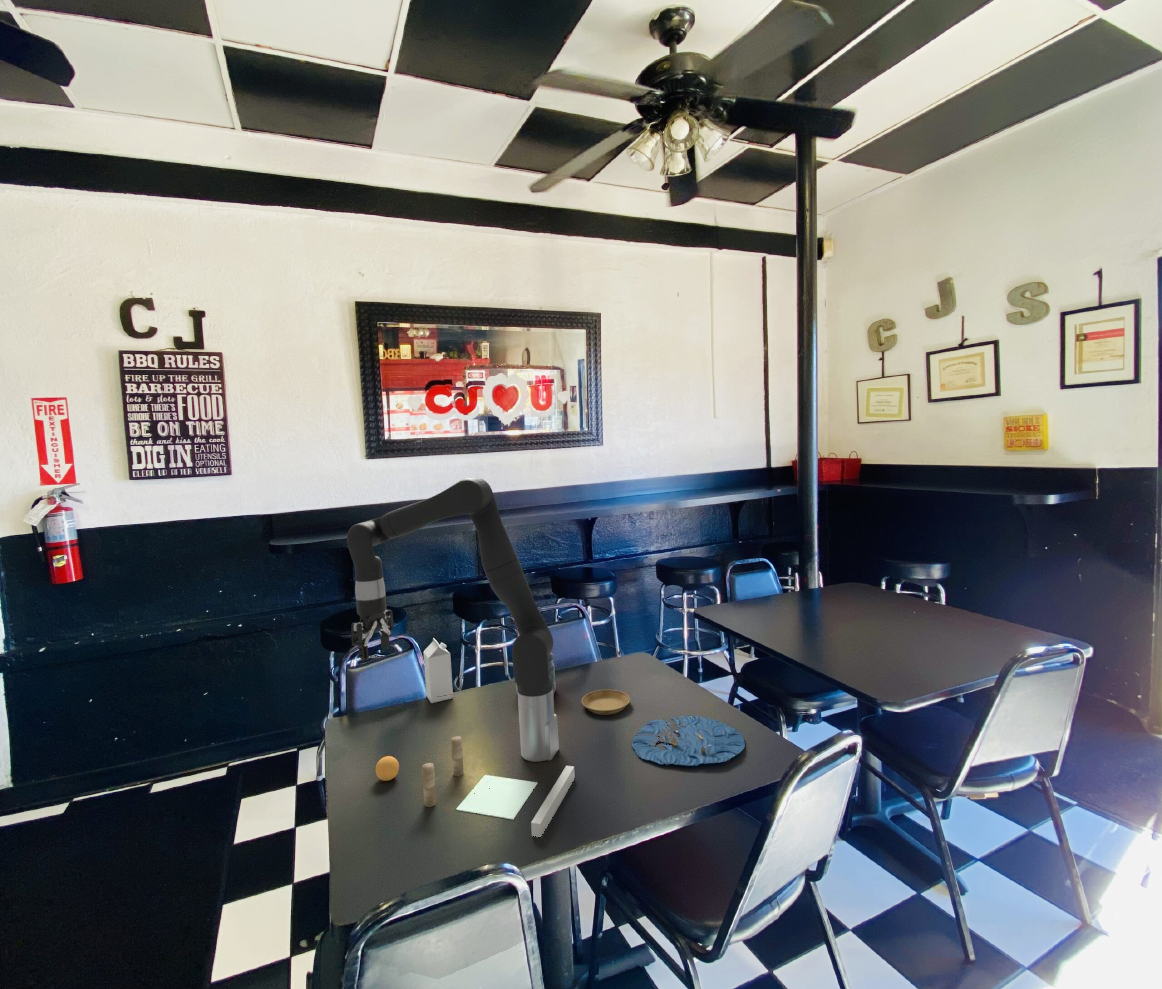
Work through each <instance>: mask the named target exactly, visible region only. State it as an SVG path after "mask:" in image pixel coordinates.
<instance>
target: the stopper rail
mask: <svg viewBox="0 0 1162 989" xmlns="http://www.w3.org/2000/svg"><path fill="white" fill-rule="evenodd" d="M575 777H576V776H575V766H572V765H565V767H564V769H563V771H562V772H561V774H560V775H559V777H558V778H557V780H556V782H555V784H554V785H553V786H552V788H551V790H550V791H549V792H548V795H547V796H546V798H545V799H544V801H543V802H542V804H541V806H540V808H539V809H538V811H537V812H536V813H535V816H534V817H533V819H532V820H531V821H530V826H531V827H530V828H531V837H533V836H534V838H538V837H541V836H542V837H543V835H542V834H544V833H545V832H544V831H546V830H545V829H547V828H548V826H549V825H548V824H550V823H551V821H552V819H553V818H554V815H556V812H557V810H558V809H559V807H560V805H561V803H562V802H563V800H564V798H565V796H566V794H567V793H568V791H569V790H568V789H570V787H572V786H571V785H572V784H573V783H572V782H574V781H575V779H574V778H575ZM552 817H553V818H552ZM535 836H536V837H535ZM542 837H541V838H542Z"/></svg>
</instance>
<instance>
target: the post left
mask: <svg viewBox="0 0 1162 989" xmlns="http://www.w3.org/2000/svg"><path fill="white" fill-rule="evenodd" d="M434 766H435V765H434V763H433V762H427V763H426V762H425V763H424V764H422V766H421V774H422V786H423V800H424V803H423V804H424V807H426V808H431V807H434V806H436V805H437V794H436V777H435V767H434Z"/></svg>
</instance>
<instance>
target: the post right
mask: <svg viewBox="0 0 1162 989" xmlns="http://www.w3.org/2000/svg"><path fill="white" fill-rule="evenodd" d="M462 740H463V739H462V736H460V735H457V736H453V737H451V738H450V747H451V762H452V776H454V777H462V776H463V775H464V772H465V771H464V758H463V757H464V755H463V743H462V742H463V741H462Z"/></svg>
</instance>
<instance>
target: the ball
mask: <svg viewBox="0 0 1162 989" xmlns="http://www.w3.org/2000/svg"><path fill="white" fill-rule="evenodd" d="M399 770H400V763H399V761H398V760H397V758H395V757H393V756H391V755H387V756H384V757H381V758H380V759H379V760H378V762H377V763H376V765H375V774H376V777H377V778H379V780H380V781H383V782H388V781H391V780H392V779H394V778H395V777H396V776H397V775H398V773H399Z"/></svg>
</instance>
